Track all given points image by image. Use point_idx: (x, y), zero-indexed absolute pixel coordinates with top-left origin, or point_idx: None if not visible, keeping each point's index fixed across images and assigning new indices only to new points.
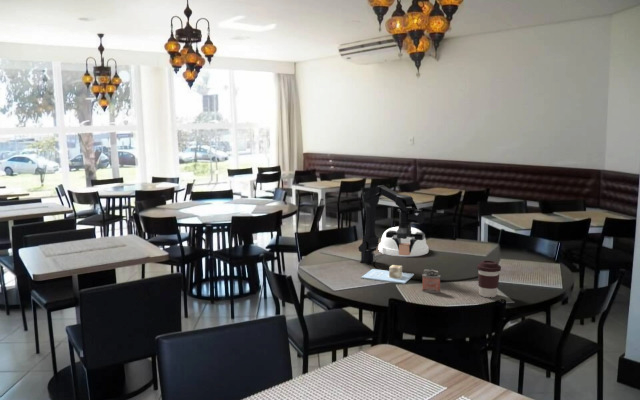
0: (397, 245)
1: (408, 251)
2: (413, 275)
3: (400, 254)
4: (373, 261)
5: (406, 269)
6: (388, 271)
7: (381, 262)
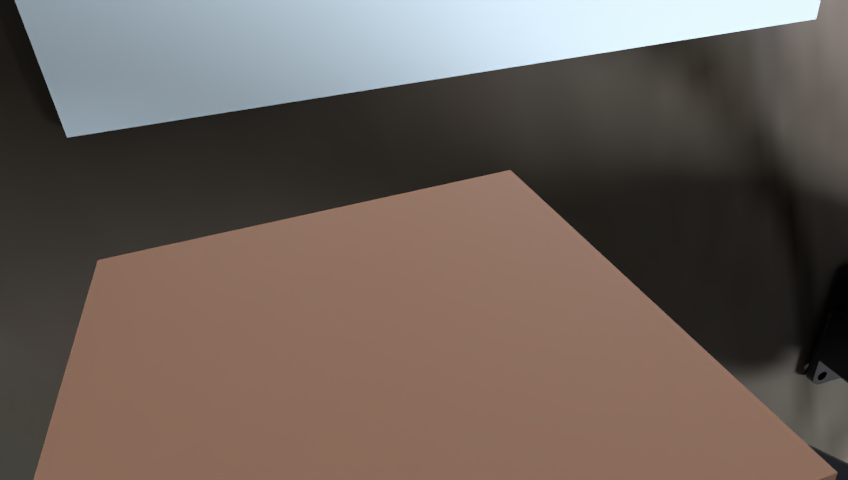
0: (839, 472)
1: (76, 375)
2: (59, 96)
3: (452, 185)
4: (828, 326)
5: None
6: (556, 21)
7: None
